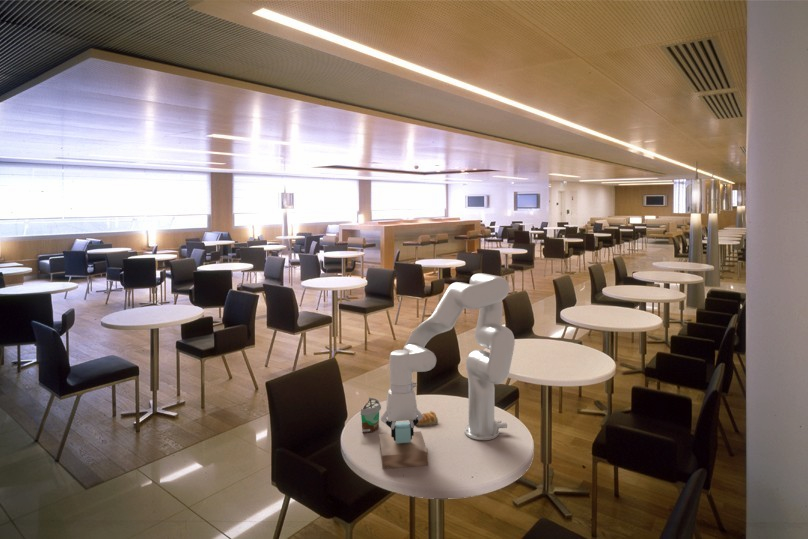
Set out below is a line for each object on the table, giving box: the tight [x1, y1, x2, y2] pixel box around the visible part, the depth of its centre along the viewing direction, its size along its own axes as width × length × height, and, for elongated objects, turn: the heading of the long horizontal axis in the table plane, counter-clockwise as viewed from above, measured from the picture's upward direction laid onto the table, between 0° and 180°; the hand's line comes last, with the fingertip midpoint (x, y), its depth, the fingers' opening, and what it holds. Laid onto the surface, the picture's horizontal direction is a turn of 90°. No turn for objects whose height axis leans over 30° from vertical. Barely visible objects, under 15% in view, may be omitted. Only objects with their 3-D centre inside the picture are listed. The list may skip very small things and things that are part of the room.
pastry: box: [415, 411, 439, 427], centre depth 188 cm, size 9×7×4 cm
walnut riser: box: [378, 430, 429, 470], centre depth 164 cm, size 15×15×4 cm
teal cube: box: [395, 421, 411, 443], centre depth 163 cm, size 5×5×5 cm
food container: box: [360, 397, 382, 434], centre depth 184 cm, size 12×6×10 cm, turn 168°
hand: (402, 437), depth 163 cm, fingers closed on teal cube, 4 cm apart
